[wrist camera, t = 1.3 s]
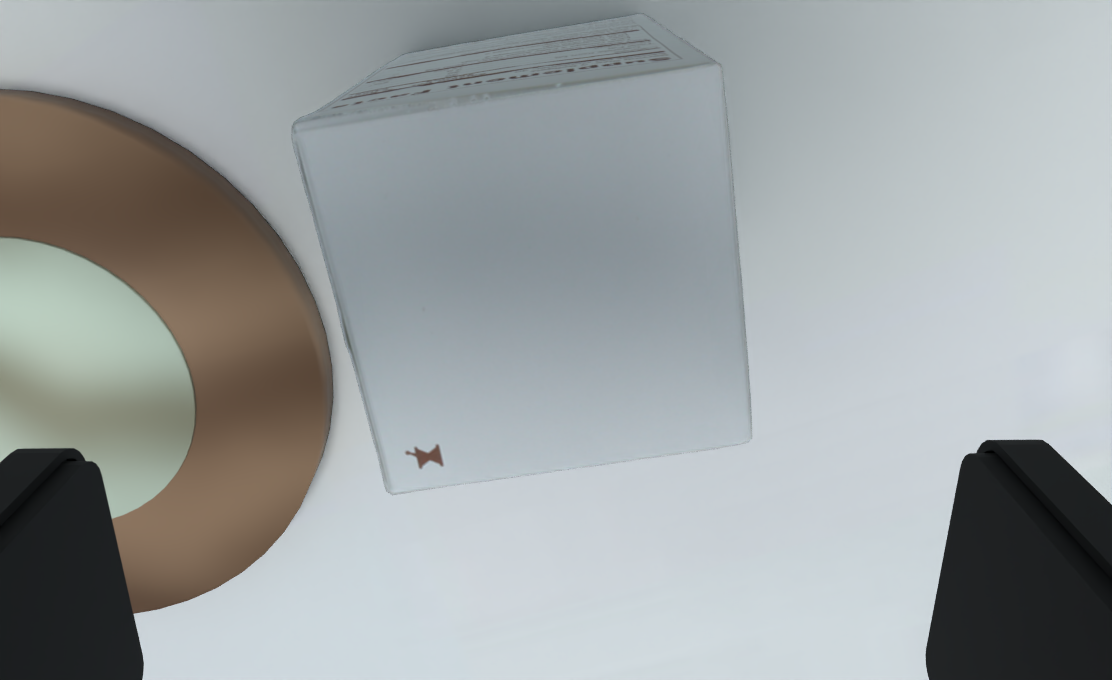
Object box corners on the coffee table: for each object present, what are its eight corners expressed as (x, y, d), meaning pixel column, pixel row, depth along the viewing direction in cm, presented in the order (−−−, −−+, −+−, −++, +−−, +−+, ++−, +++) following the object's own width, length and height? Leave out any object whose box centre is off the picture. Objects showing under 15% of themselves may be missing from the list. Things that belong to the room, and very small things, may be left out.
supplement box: (675, 252, 29) (760, 460, 17) (443, 284, 29) (374, 509, 18) (651, 5, 26) (735, 55, 14) (394, 44, 26) (273, 124, 15)
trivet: (-322, 90, 27) (-376, 100, 25) (300, 86, 27) (284, 95, 25) (-132, 591, 34) (-166, 623, 32) (356, 586, 34) (347, 617, 32)
